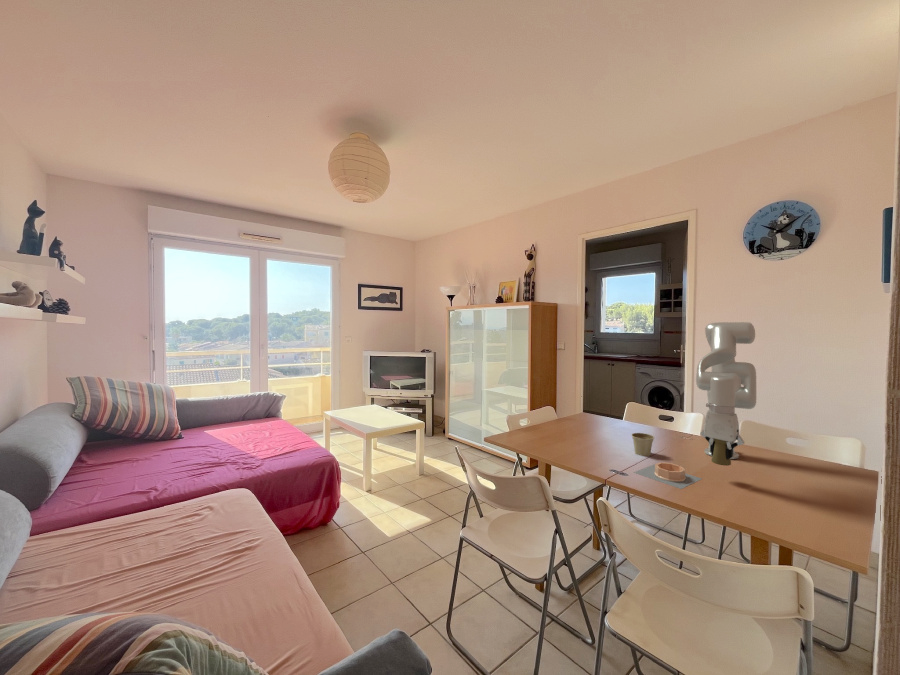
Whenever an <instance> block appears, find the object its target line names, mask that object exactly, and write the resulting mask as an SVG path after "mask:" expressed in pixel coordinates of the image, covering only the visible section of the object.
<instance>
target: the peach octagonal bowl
mask: <svg viewBox="0 0 900 675" xmlns="http://www.w3.org/2000/svg"><path fill="white" fill-rule="evenodd" d="M685 473H686V469H685V468H684V467H683V466H681V465H678V464H676V463H672V462H657V463H655V476H656V477H658V478H660V479H663V480H666V481H671V482H683V481H685V479H686V478H685Z"/></svg>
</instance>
